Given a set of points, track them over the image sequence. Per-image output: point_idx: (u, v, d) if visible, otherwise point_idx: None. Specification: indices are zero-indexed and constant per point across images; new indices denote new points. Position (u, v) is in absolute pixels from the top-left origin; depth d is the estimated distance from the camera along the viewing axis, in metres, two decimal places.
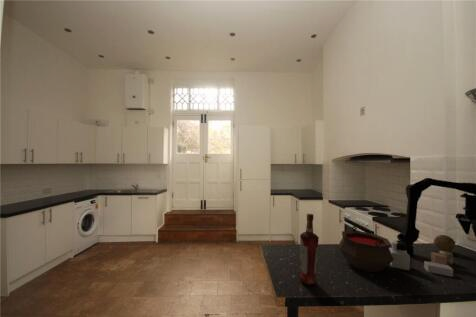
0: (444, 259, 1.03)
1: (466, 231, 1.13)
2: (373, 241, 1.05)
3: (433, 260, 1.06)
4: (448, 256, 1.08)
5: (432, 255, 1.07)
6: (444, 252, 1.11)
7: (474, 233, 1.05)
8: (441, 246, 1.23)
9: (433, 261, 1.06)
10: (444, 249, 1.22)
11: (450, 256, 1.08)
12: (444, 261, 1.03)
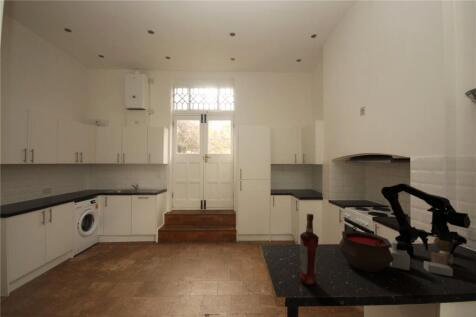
0: (444, 259, 1.03)
1: (449, 251, 1.04)
2: (373, 241, 1.05)
3: (433, 260, 1.06)
4: (448, 256, 1.08)
5: (432, 255, 1.07)
6: (444, 252, 1.11)
7: None
8: (441, 246, 1.23)
9: (433, 261, 1.06)
10: (444, 249, 1.22)
11: (450, 256, 1.08)
12: (444, 261, 1.03)
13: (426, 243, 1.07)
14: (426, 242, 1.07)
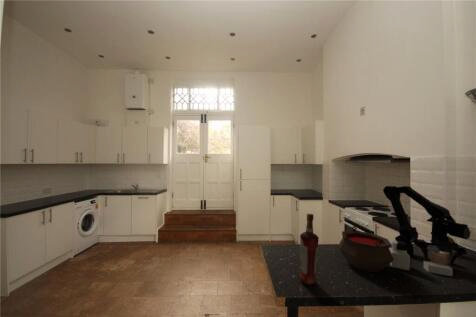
0: (444, 259, 1.03)
1: (449, 262, 1.04)
2: (373, 241, 1.05)
3: (433, 260, 1.06)
4: (448, 256, 1.08)
5: (432, 255, 1.07)
6: (444, 252, 1.11)
7: (424, 253, 1.09)
8: None
9: (433, 261, 1.06)
10: None
11: None
12: (444, 261, 1.03)
13: (426, 253, 1.07)
14: (426, 252, 1.07)
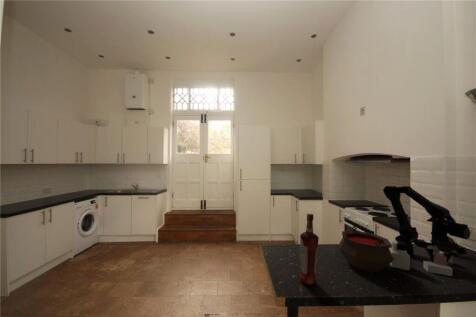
0: (444, 259, 1.03)
1: None
2: (373, 241, 1.05)
3: (433, 260, 1.06)
4: None
5: None
6: None
7: None
8: None
9: (433, 261, 1.06)
10: None
11: None
12: (444, 261, 1.03)
13: (432, 254, 1.06)
14: (431, 253, 1.06)
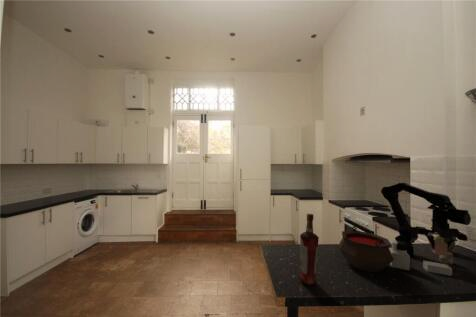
0: (445, 246, 1.03)
1: None
2: (373, 241, 1.05)
3: None
4: (448, 256, 1.08)
5: None
6: None
7: None
8: None
9: (434, 248, 1.06)
10: None
11: (450, 256, 1.08)
12: (445, 248, 1.03)
13: (432, 241, 1.06)
14: (432, 240, 1.06)
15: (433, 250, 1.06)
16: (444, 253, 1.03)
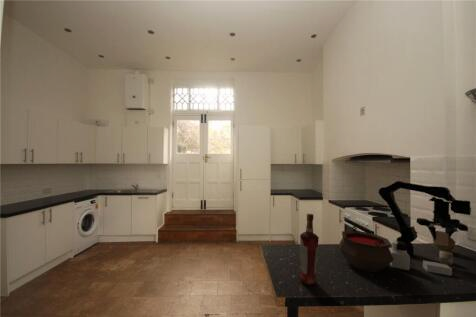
0: (446, 236, 1.06)
1: None
2: (373, 241, 1.05)
3: None
4: (448, 256, 1.08)
5: None
6: (444, 252, 1.11)
7: None
8: (441, 246, 1.23)
9: (435, 239, 1.09)
10: (444, 249, 1.22)
11: (450, 256, 1.08)
12: (446, 238, 1.06)
13: (434, 232, 1.09)
14: (434, 231, 1.09)
15: (434, 241, 1.09)
16: (445, 243, 1.06)
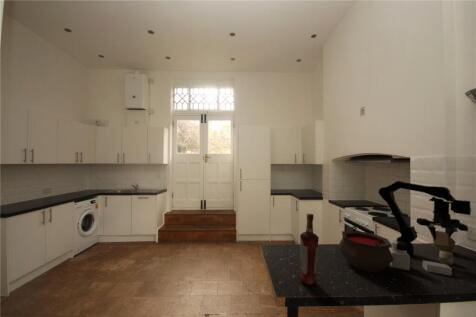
0: (446, 236, 1.06)
1: None
2: (373, 241, 1.05)
3: None
4: (448, 256, 1.08)
5: None
6: (444, 252, 1.11)
7: None
8: (441, 246, 1.23)
9: (435, 239, 1.09)
10: (444, 249, 1.22)
11: (450, 256, 1.08)
12: (446, 238, 1.06)
13: (434, 232, 1.09)
14: (434, 231, 1.09)
15: (434, 241, 1.09)
16: (445, 243, 1.06)
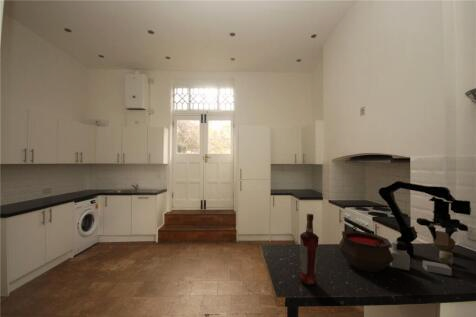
0: (446, 236, 1.06)
1: None
2: (373, 241, 1.05)
3: None
4: (448, 256, 1.08)
5: None
6: (444, 252, 1.11)
7: None
8: (441, 246, 1.23)
9: (435, 239, 1.09)
10: (444, 249, 1.22)
11: (450, 256, 1.08)
12: (446, 238, 1.06)
13: (434, 232, 1.09)
14: (434, 231, 1.09)
15: (434, 241, 1.09)
16: (445, 243, 1.06)
